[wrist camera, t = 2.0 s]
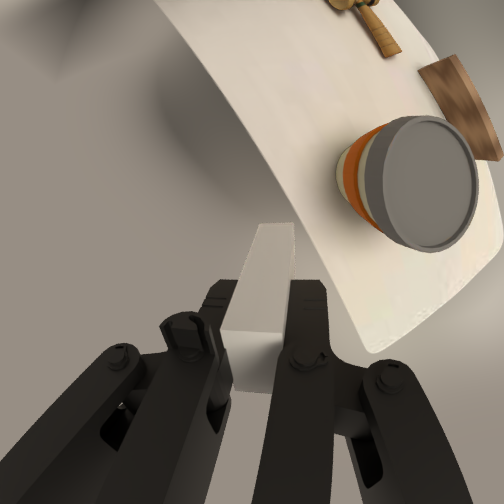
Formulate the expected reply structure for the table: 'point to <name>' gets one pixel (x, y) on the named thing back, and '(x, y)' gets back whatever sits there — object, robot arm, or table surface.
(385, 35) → the kendama
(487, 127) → the board
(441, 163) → the reusable coffee cup
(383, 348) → the table surface
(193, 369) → the robot arm
